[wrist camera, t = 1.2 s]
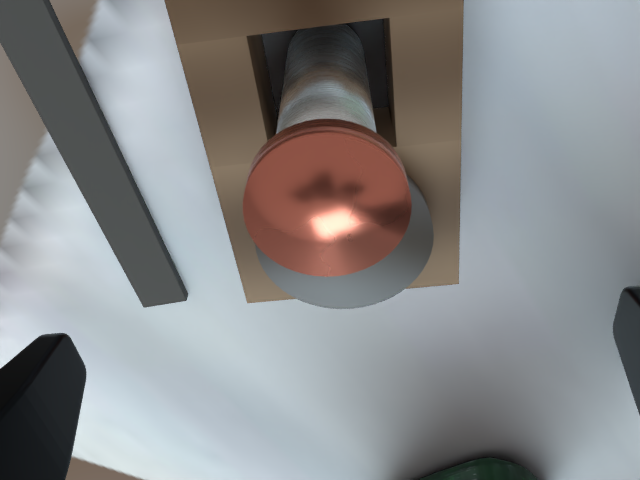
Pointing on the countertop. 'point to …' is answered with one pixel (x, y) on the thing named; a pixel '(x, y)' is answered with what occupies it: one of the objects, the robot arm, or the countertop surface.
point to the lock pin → (326, 165)
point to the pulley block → (391, 123)
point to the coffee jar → (483, 471)
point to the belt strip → (88, 146)
